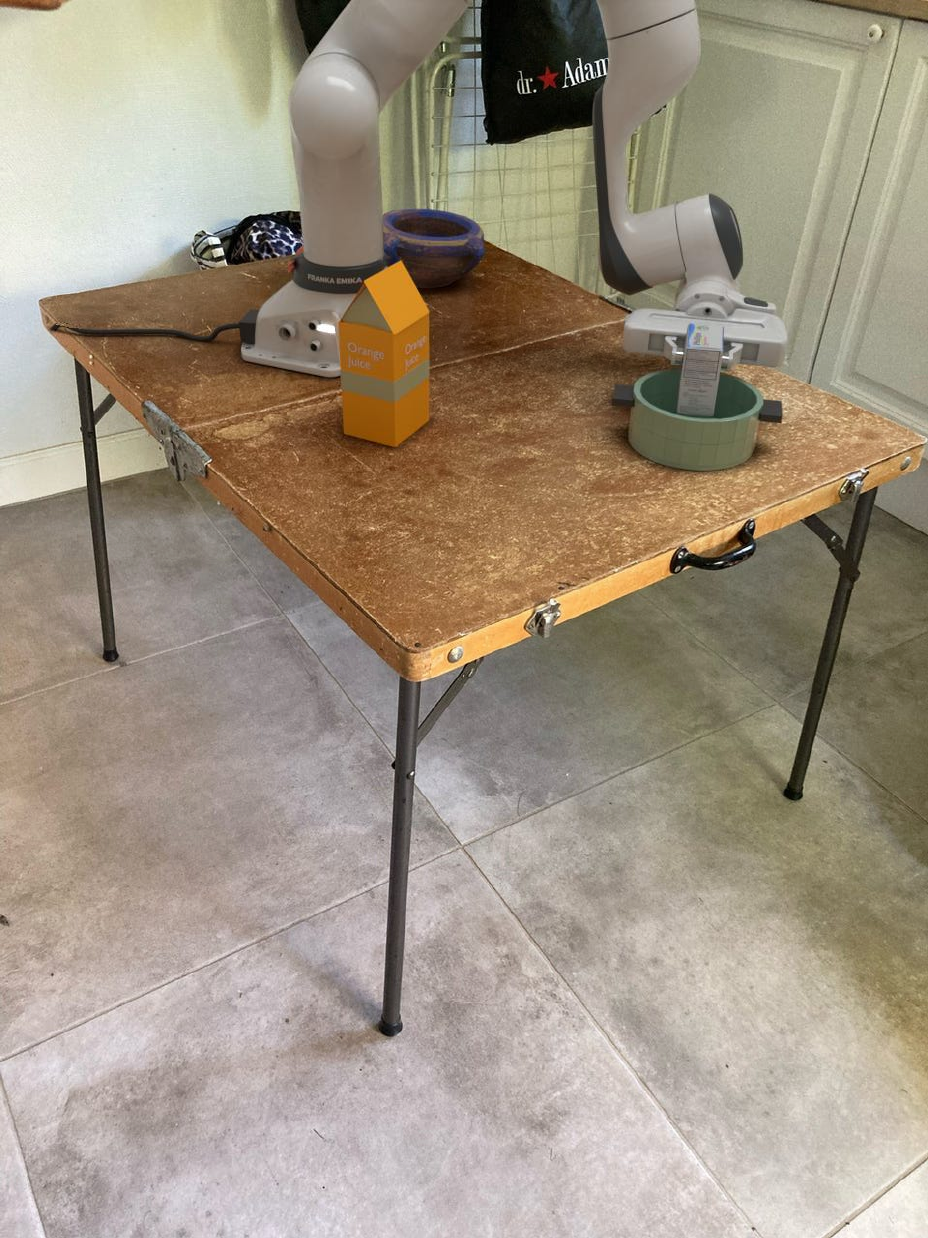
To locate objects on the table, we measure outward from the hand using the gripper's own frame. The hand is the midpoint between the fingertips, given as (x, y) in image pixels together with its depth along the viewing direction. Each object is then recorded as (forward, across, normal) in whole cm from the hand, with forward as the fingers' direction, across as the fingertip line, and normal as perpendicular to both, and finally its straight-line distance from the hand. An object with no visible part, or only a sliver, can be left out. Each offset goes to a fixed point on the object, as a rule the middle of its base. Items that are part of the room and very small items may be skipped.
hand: (701, 362), depth 129 cm
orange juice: (+6, -38, +11) cm, 40 cm away
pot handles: (+1, 0, +6) cm, 6 cm away
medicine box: (+1, 0, +5) cm, 5 cm away
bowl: (-50, -46, +11) cm, 69 cm away
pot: (+1, 0, +10) cm, 10 cm away
